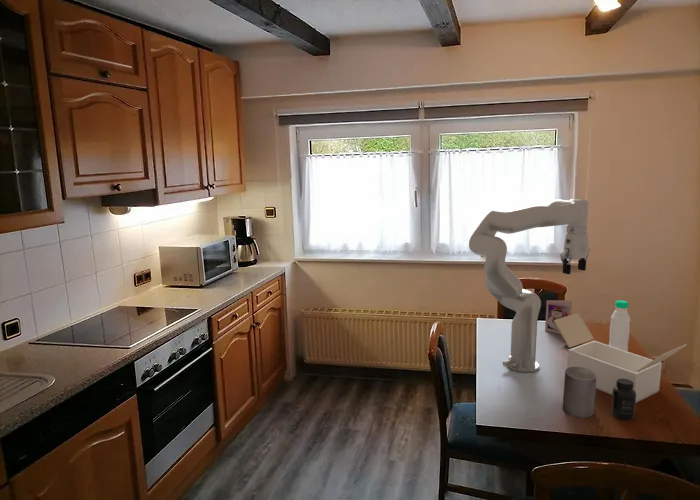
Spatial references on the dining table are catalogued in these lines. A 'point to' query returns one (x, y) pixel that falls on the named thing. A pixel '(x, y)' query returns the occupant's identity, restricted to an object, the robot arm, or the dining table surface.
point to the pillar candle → (579, 392)
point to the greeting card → (556, 313)
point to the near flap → (662, 357)
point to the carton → (616, 368)
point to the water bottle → (620, 326)
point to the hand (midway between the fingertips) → (574, 271)
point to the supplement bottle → (623, 400)
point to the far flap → (573, 330)
